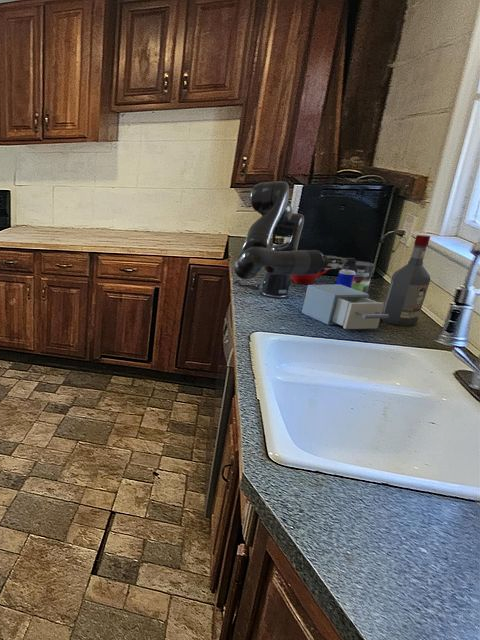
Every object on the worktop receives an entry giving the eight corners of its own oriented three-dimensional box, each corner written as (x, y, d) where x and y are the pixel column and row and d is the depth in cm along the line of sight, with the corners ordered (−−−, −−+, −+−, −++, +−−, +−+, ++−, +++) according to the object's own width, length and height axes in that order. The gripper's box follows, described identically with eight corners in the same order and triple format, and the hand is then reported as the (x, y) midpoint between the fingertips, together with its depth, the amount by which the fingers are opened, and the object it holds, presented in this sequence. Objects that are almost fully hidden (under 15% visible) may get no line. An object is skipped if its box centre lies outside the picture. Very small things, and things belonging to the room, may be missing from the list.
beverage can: (347, 312, 197) (358, 272, 192) (332, 311, 198) (342, 271, 193) (342, 308, 202) (352, 269, 196) (327, 307, 203) (337, 268, 197)
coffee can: (368, 301, 212) (377, 266, 207) (338, 298, 216) (347, 264, 210) (362, 295, 221) (371, 261, 216) (334, 292, 225) (342, 259, 219)
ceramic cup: (332, 286, 235) (338, 264, 231) (294, 285, 235) (299, 263, 232) (317, 279, 247) (322, 258, 243) (280, 279, 247) (285, 258, 244)
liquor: (376, 319, 188) (400, 234, 177) (392, 316, 192) (417, 233, 181) (403, 327, 181) (430, 238, 170) (419, 324, 184) (447, 236, 173)
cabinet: (361, 323, 184) (369, 294, 180) (327, 324, 183) (334, 294, 179) (333, 312, 197) (340, 284, 193) (301, 312, 196) (307, 284, 192)
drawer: (388, 333, 172) (396, 307, 168) (355, 334, 171) (363, 307, 167) (349, 316, 189) (355, 292, 185) (319, 317, 188) (324, 293, 184)
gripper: (318, 254, 155) (373, 253, 156) (291, 246, 167) (342, 246, 168) (312, 279, 157) (366, 278, 159) (286, 270, 170) (336, 269, 171)
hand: (354, 261), depth 164 cm, fingers closed
